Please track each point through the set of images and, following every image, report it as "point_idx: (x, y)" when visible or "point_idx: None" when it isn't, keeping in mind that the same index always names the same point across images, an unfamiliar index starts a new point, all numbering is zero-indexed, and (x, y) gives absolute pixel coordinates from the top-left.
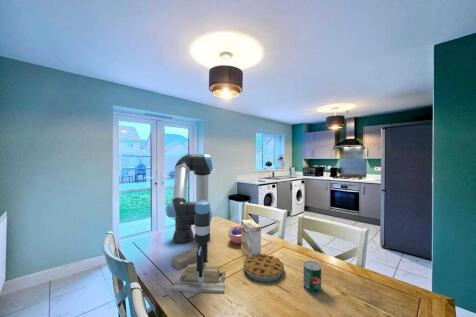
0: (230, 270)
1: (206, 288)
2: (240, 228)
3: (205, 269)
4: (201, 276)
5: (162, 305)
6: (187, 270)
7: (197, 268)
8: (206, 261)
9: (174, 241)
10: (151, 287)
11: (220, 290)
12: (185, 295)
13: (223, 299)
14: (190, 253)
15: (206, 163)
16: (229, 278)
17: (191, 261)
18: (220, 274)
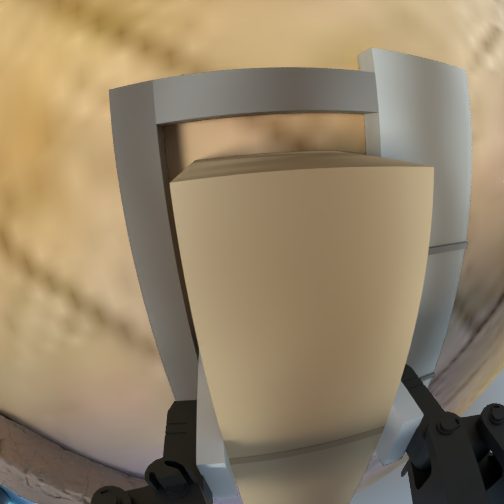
0: (29, 74)
1: (459, 247)
2: None
3: (360, 405)
4: (411, 371)
5: (476, 399)
6: (349, 497)
7: (495, 462)
8: (186, 484)
9: (8, 501)
10: (356, 491)
11: (468, 102)
12: (451, 358)
13: (496, 80)
14: (45, 496)
15: None
16: (197, 23)
17: (80, 467)
18: (159, 153)
